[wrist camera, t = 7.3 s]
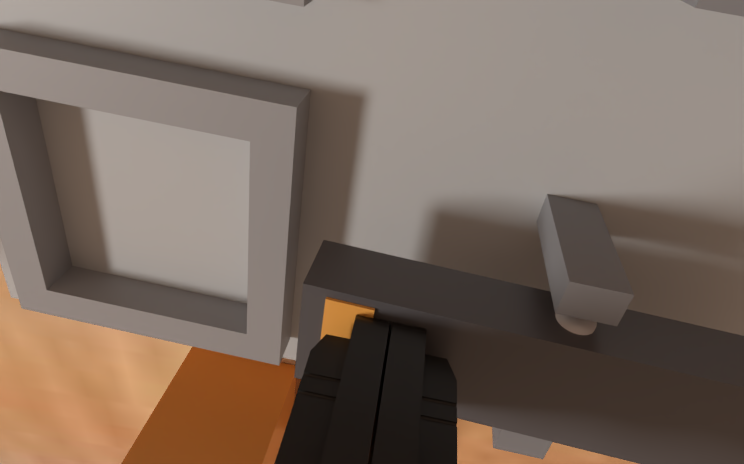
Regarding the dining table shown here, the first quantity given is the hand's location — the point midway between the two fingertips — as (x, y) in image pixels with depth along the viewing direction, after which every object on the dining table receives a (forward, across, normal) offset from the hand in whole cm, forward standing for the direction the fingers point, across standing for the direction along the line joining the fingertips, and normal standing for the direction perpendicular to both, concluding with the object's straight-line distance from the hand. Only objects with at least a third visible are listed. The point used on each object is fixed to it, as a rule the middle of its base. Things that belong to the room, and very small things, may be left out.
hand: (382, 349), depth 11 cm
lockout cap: (+7, +5, +11) cm, 14 cm away
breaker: (0, -4, 0) cm, 4 cm away
